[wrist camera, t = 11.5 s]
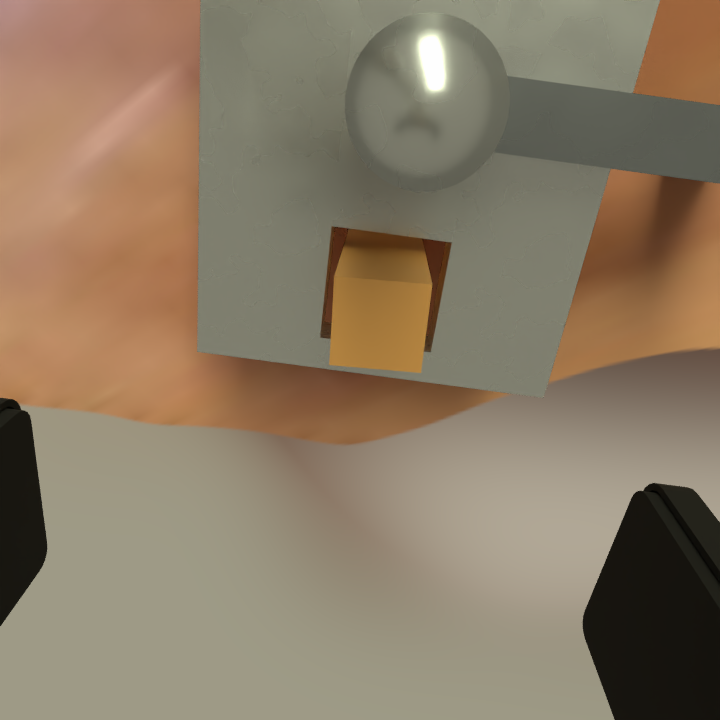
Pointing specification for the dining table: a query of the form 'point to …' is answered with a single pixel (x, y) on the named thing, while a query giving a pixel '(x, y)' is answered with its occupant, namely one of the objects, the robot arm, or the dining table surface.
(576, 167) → the grey metal piece
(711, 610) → the robot arm
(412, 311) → the mustard rectangular block
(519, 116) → the bracket
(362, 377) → the dining table surface
